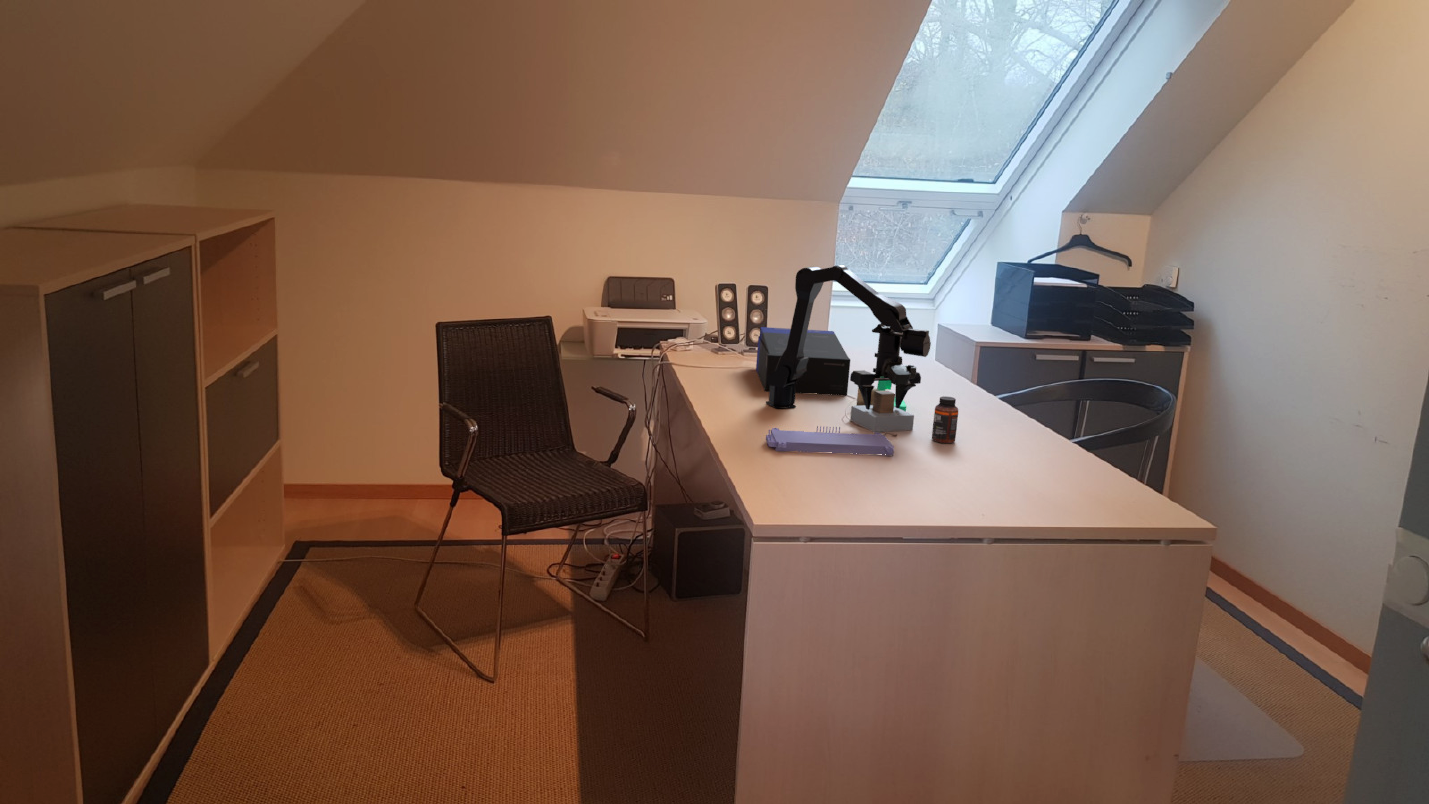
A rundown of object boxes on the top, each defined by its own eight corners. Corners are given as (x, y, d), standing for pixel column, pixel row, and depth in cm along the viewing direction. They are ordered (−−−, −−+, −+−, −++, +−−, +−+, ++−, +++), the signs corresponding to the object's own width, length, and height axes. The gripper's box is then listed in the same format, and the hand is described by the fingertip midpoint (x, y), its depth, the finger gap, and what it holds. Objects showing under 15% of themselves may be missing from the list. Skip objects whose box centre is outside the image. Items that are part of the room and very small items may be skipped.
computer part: (762, 437, 262) (770, 454, 248) (764, 421, 261) (771, 437, 247) (880, 442, 265) (894, 460, 250) (882, 426, 264) (896, 442, 249)
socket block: (873, 432, 273) (875, 417, 272) (850, 420, 284) (851, 405, 283) (912, 429, 278) (914, 415, 277) (888, 418, 289) (889, 404, 288)
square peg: (871, 423, 282) (874, 390, 280) (884, 423, 283) (887, 390, 281) (878, 427, 278) (881, 394, 276) (891, 426, 280) (895, 394, 278)
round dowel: (862, 412, 293) (864, 391, 292) (852, 407, 298) (854, 387, 297) (879, 412, 296) (881, 391, 294) (869, 407, 301) (871, 386, 299)
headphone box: (829, 372, 347) (833, 329, 344) (847, 396, 313) (851, 349, 310) (755, 368, 346) (758, 325, 343) (764, 392, 312) (768, 344, 309)
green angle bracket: (905, 415, 294) (909, 380, 291) (878, 413, 294) (882, 377, 292) (901, 406, 305) (905, 371, 303) (874, 404, 306) (878, 369, 303)
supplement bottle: (956, 440, 271) (961, 397, 268) (953, 445, 265) (958, 401, 263) (932, 436, 273) (937, 394, 270) (929, 441, 267) (934, 398, 264)
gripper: (874, 357, 265) (868, 417, 269) (936, 356, 273) (929, 415, 276) (852, 349, 275) (846, 407, 279) (912, 348, 283) (905, 404, 286)
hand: (882, 408), depth 280 cm, fingers open, 9 cm apart
